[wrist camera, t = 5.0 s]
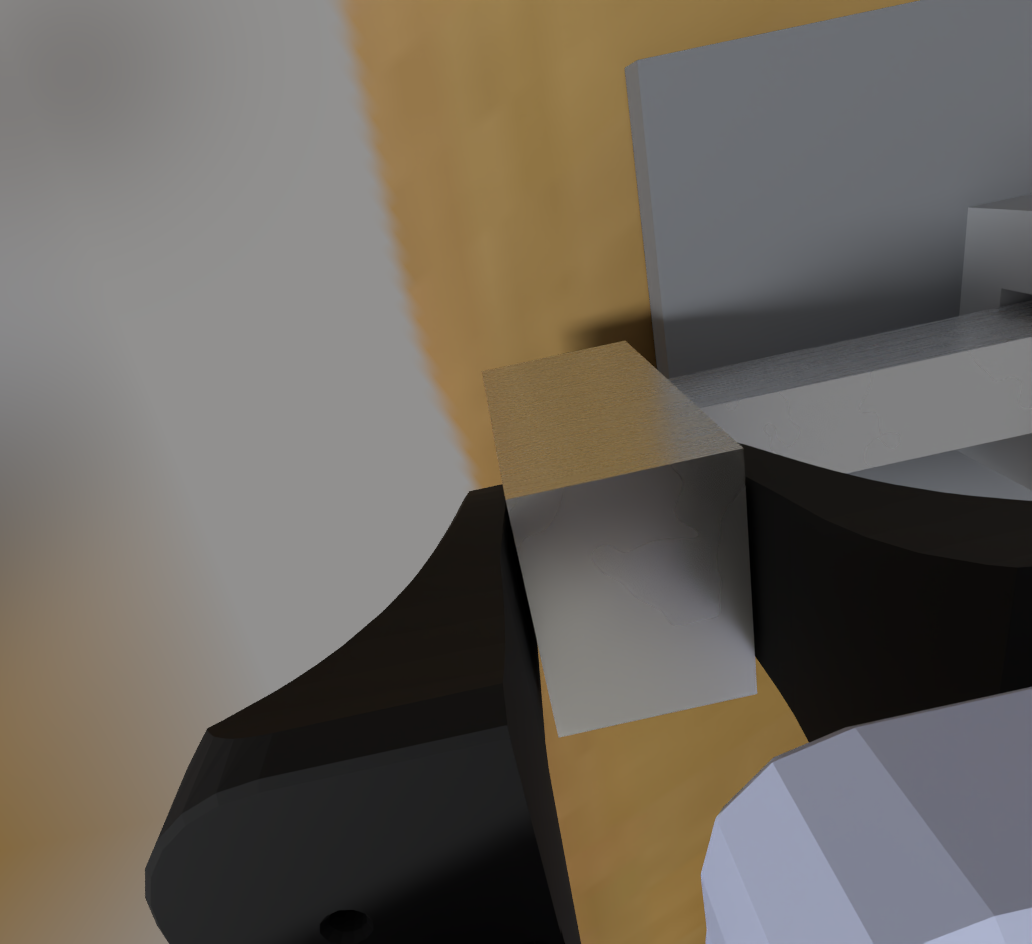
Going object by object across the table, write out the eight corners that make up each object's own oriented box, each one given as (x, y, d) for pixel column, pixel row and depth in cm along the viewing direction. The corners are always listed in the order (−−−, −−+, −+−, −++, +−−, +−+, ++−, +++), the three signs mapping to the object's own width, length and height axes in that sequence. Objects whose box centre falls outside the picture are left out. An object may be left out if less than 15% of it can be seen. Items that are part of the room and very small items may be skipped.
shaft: (1080, 416, 15) (1426, 546, 10) (518, 538, 15) (558, 738, 10) (1110, 236, 14) (1545, 274, 8) (482, 371, 14) (505, 500, 8)
